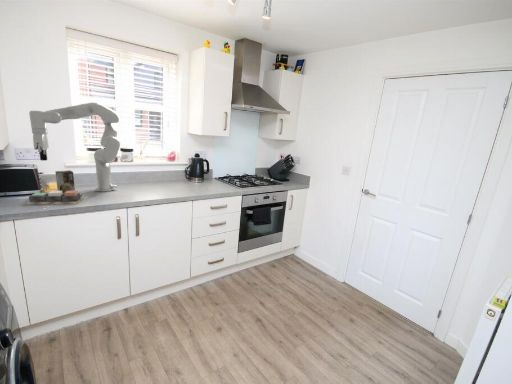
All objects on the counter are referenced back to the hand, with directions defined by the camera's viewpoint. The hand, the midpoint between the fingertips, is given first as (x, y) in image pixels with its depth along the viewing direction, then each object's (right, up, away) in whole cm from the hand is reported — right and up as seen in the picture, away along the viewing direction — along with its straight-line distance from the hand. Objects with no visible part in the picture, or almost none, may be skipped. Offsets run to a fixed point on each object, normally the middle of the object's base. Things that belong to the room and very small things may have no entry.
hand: (44, 160), depth 169 cm
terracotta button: (+17, -24, +2) cm, 29 cm away
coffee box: (+2, -22, +18) cm, 28 cm away
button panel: (+8, -27, 0) cm, 28 cm away
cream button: (+9, -24, -1) cm, 25 cm away
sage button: (+1, -25, -4) cm, 25 cm away
